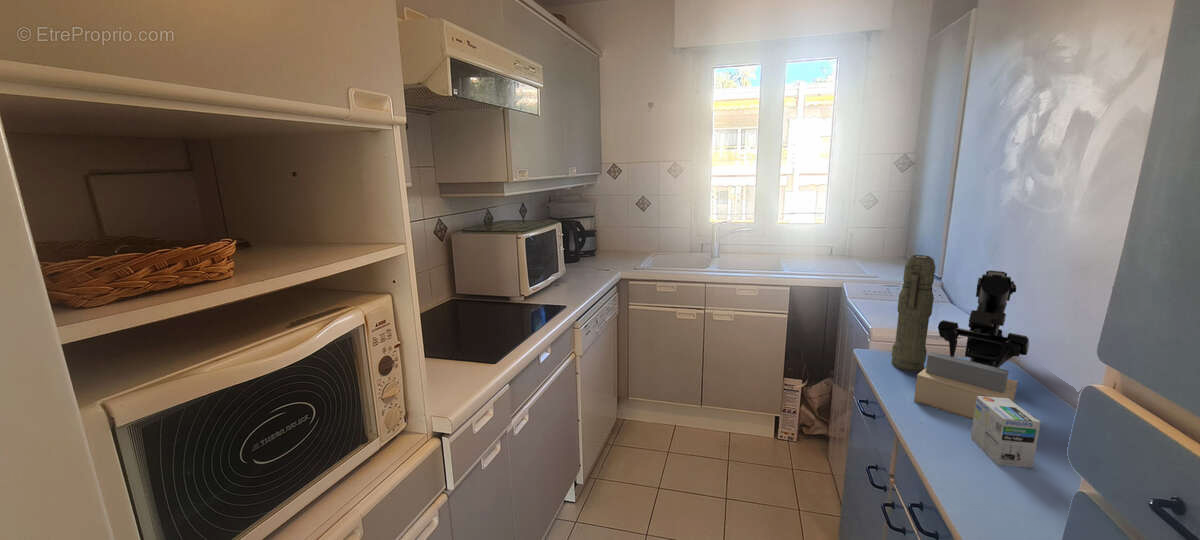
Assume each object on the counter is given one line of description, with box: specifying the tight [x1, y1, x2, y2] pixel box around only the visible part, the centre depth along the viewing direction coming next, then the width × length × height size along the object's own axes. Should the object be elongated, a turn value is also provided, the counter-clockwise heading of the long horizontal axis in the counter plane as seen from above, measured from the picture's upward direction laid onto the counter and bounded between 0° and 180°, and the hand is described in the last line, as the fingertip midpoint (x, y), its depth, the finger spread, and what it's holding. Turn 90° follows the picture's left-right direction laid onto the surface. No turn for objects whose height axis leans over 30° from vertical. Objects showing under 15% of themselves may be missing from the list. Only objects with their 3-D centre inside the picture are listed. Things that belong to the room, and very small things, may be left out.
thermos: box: [891, 254, 936, 373], centre depth 144 cm, size 9×12×35 cm
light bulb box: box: [970, 396, 1042, 469], centre depth 102 cm, size 11×7×11 cm, turn 168°
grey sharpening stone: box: [916, 351, 1011, 398], centre depth 119 cm, size 7×18×6 cm, turn 40°
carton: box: [913, 376, 1019, 421], centre depth 122 cm, size 14×18×8 cm
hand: (972, 364), depth 123 cm, fingers open, 9 cm apart
